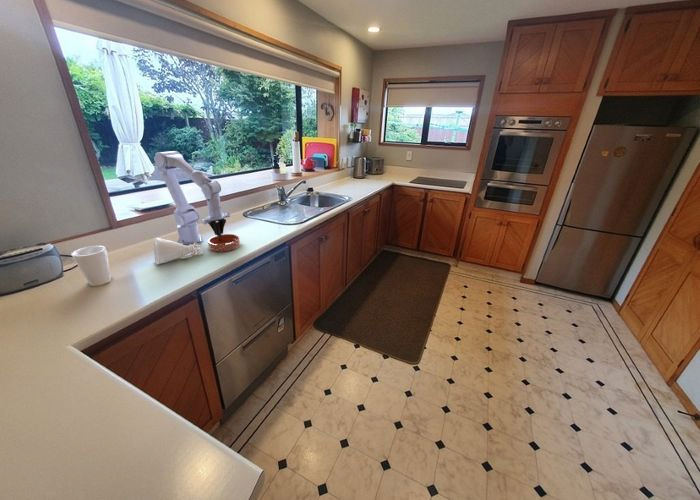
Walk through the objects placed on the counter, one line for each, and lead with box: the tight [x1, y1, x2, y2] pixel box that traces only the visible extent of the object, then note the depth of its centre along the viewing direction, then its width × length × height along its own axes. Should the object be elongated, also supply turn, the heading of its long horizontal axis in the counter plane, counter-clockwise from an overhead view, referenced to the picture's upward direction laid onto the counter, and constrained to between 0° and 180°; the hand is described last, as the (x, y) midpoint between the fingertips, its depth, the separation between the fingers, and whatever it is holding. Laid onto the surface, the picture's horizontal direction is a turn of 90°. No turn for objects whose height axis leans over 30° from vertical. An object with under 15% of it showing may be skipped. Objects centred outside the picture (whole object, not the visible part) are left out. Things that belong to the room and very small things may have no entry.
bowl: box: [207, 233, 241, 253], centre depth 140 cm, size 14×14×4 cm
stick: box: [216, 221, 222, 241], centre depth 138 cm, size 2×2×10 cm
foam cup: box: [70, 245, 112, 287], centre depth 104 cm, size 10×9×13 cm
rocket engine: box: [153, 237, 203, 265], centre depth 126 cm, size 12×12×18 cm
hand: (219, 234), depth 138 cm, fingers closed on stick, 2 cm apart
